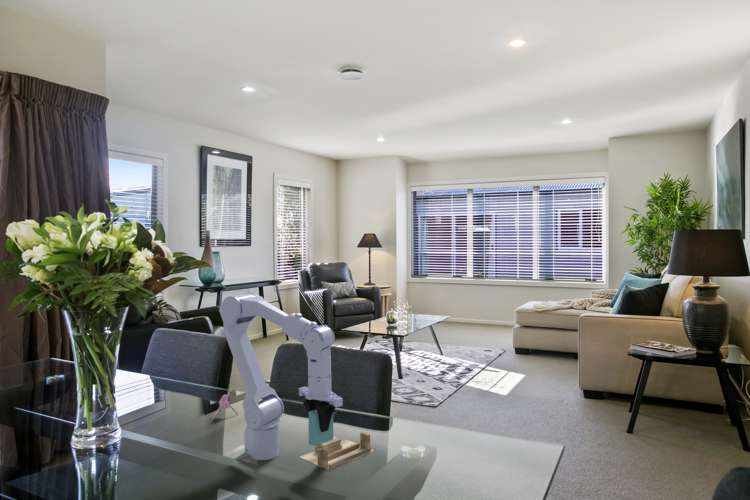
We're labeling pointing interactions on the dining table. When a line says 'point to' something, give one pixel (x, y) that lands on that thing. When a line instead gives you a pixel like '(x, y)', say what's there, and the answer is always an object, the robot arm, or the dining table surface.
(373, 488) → the dining table surface
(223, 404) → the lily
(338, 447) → the offcut stack
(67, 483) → the dining table surface
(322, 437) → the teal panel
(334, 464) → the birch rack
